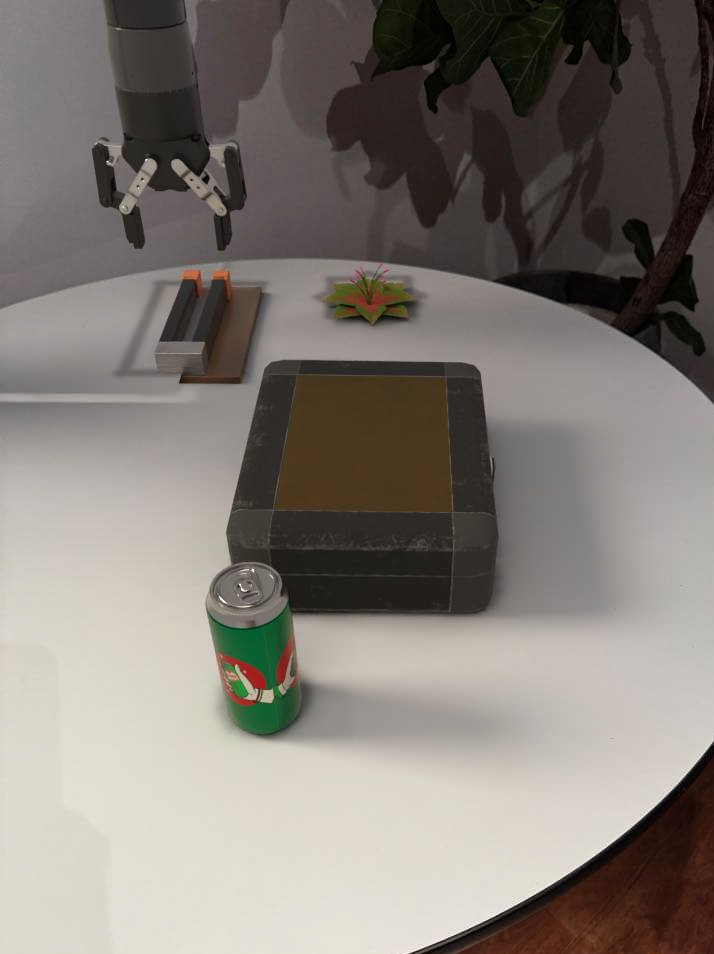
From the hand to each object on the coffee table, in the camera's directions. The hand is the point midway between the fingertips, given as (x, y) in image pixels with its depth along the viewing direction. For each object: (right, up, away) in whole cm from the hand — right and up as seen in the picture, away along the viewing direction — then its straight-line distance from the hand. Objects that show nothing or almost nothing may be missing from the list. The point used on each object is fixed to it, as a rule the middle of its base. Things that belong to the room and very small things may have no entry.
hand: (181, 246), depth 91 cm
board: (0, -8, +7) cm, 10 cm away
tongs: (0, -7, +6) cm, 9 cm away
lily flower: (+19, -3, +12) cm, 23 cm away
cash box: (+20, -28, -15) cm, 38 cm away
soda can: (+14, -42, -31) cm, 54 cm away
